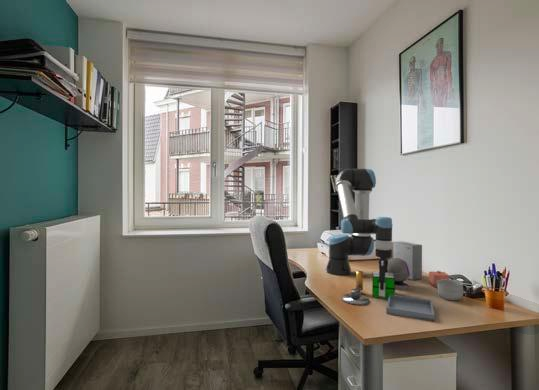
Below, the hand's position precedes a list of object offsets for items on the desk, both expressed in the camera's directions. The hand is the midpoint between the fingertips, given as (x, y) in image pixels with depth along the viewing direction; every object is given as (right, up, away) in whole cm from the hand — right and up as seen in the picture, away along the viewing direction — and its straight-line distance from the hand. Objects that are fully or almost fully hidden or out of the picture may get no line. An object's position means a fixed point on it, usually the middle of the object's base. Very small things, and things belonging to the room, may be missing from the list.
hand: (383, 292), depth 149 cm
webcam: (+12, -1, +14) cm, 19 cm away
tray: (+4, -2, -19) cm, 19 cm away
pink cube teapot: (+35, -2, +13) cm, 38 cm away
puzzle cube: (0, -2, 0) cm, 2 cm away
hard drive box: (+27, -1, +33) cm, 42 cm away
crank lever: (-13, 0, -3) cm, 14 cm away
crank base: (-16, -1, -8) cm, 18 cm away
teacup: (+31, -2, -4) cm, 32 cm away
